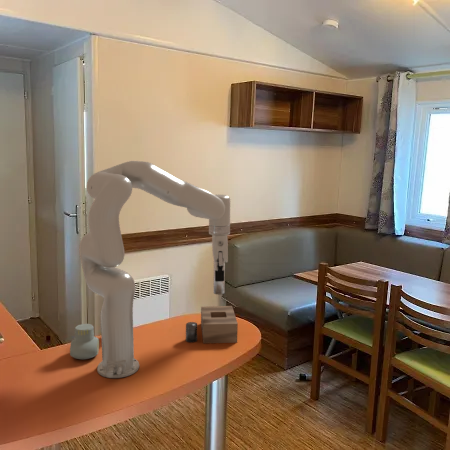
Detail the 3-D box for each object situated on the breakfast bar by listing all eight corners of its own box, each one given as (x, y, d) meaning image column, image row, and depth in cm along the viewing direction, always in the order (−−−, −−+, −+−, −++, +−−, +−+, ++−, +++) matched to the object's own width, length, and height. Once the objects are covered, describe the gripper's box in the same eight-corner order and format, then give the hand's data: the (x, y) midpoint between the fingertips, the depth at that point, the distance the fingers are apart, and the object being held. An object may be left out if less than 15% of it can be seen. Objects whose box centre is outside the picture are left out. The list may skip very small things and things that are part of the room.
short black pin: (197, 342, 166) (197, 326, 164) (186, 342, 165) (185, 326, 164) (197, 337, 169) (197, 321, 168) (185, 338, 169) (185, 322, 168)
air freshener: (74, 349, 159) (73, 321, 157) (99, 347, 160) (98, 320, 159) (69, 364, 148) (68, 334, 147) (96, 362, 150) (95, 332, 148)
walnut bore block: (237, 342, 166) (237, 323, 165) (203, 343, 165) (203, 324, 164) (231, 323, 183) (232, 305, 182) (201, 323, 182) (201, 306, 181)
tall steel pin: (224, 294, 170) (225, 262, 168) (213, 294, 169) (214, 262, 167) (223, 290, 174) (224, 259, 172) (213, 291, 173) (213, 259, 171)
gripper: (232, 234, 160) (231, 286, 163) (227, 225, 176) (227, 272, 179) (210, 234, 159) (210, 286, 162) (207, 225, 175) (207, 273, 178)
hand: (219, 278), depth 171 cm, fingers closed on tall steel pin, 4 cm apart
